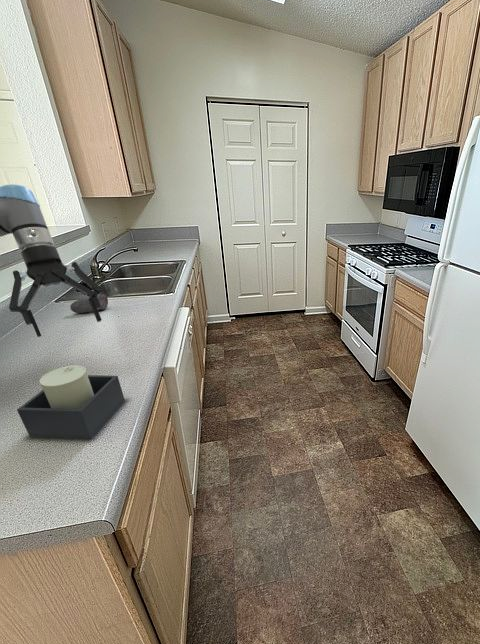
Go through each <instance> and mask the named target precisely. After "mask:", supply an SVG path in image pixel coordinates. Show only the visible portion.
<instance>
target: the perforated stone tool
mask: <svg viewBox="0 0 480 644" xmlns="http://www.w3.org/2000/svg"><path fill="white" fill-rule="evenodd" d="M97 298H98V300H99V303H100V305H101V306H100V309H98V311H104V310H106V308H108V305H109V299H108V295H107V294H105V293H103V294H100V295H98V296H97ZM88 299H89V296H87V297H82V298H80V299H77V300H75V301H73V302H71V304H70V310H71V312H73V313H75V314H85V313H89V314H90V313H94V312H93V310H92V307H91V305H90V302H89V300H88Z"/></svg>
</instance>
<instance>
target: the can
mask: <svg viewBox="0 0 480 644" xmlns="http://www.w3.org/2000/svg"><path fill="white" fill-rule="evenodd" d="M88 375H89V374H88V372H87V368H86V367H85V366H82V365H79V364H78V365H77V364H74V365H73V364H72V365H65V366H62V367H58V368H55V369H52V370H50V371H49V372H47V373H45V374H44V375H42V376H41V377H40V379H39V385H40V386H41V388H42V390H44V393H45V395H46V397H47V399H48V402H49V404H50V407H51V408H57V409H80V408H81V407H83V406H84V405H85V404H86V403H87V402H88V401H89V400H90V399H91V398H92V397H93V396H94V393H93V390H92V387H91V384H90V381H89V378H88Z"/></svg>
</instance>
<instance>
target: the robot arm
mask: <svg viewBox="0 0 480 644" xmlns="http://www.w3.org/2000/svg"><path fill="white" fill-rule="evenodd" d="M40 207H41V206H40V204H39V203H38V200H37V198H36V195H34V192H33V191H32V190H31V189H30V188H28V187H26V186H24V185H20V184H4V185H1V186H0V238H1V237H4V236H7V235H10V234H12V235H13V236H12V237H13V239H14V241H15V244H16V246H17V248H18V250H19V251H20V255H21V257H22V260H23V262H24V264H25V267H26V271H19V270H17V269H15V270H13V271H12V275H13V279H14V281H13V286H12V291H11V295H10V301H9V307H8V310H9V311H10V313H11V312H12V313H19V314H21V315H22V318H23V320H24V322H25V324H26V326H30V325H32V327H33V329H34V332H35V334H36V336H37V338H40V337H42V334H41V331H40V329H39V327H38V324H37V322H36V319H35V317H34V314H33V311H32V310H31V309H29V307H30V306H31V304H32V302H33V300H34V298H35V297H36V295H37V293H38V292H39V290H40V288H41V286H44V287H49V286H52V285H60V284H61V283H63V284H65V285H67V286H70V287H72V288H73V289H75V290H77V291H79V292H80V293H82V294H84V295H86V296H87V297H89V299H88V300H89V302H90V305H91V307H92V310H93V312H92V313H93V315H94V317H95V320H96V322H97V323H99V322H102V320H103V319H102V317H101V315H100V312H99V310H98V309H100V306H101V305H100V303H99V300H98V298H97V296H98V295H102V293H103V288H101V287H100V286H99V285H98V284H97V283H96V282H95V281H94V280H93V279H91V278H90V276H88V275H87V274H86V273H85V272H84V271H83V270H82V269H81V267H80V266H79V264H78V263H77V262H76V261H73V262H72V263H70V264H66V265H65V264H64V263H63V261H62V259H61V257H60V254H59V251H58V249H57V247H55V246H56V245H55V241H54V240H53V237H52V235H51V232H50V230H49V228H48V226H47V223H46V220H45V218H44V215H43V212H42V210H41V208H40ZM67 271H70V273H73V274H75V275H76V276H77V277H78V278H79V279H80V280H81V281H82V282H84V283H85V284H86V285H87V286H88V287H89V288H88V287H87V286H85V285H83V284H81V283H79V282H78V281H77V280H75V279H73V278H72V277H71V276H69V275H67ZM27 277H28V278H29V279H31V280H33V282H32V285H31V286H30V288H29V290H28V292H27V293H26V295H25V297H24V298H23V301H22V303H21V304H20V305H18V304H19V300H20V295H21V290H22V284H23V283H22V282H23V281H25V280H26V278H27ZM100 310H101V309H100Z"/></svg>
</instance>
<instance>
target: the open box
mask: <svg viewBox="0 0 480 644" xmlns="http://www.w3.org/2000/svg"><path fill="white" fill-rule="evenodd" d="M87 375H88V378H89V381H90V384H91V387H92V390H93V393H94V396H93V397H92V398H91V399H90V400H89V401H88V402H87V403H86V404H85V405H84V406H83V407H81V408H80V409H57V408H51V407H50V404H49V402H48V399H47V397H46V395H45V393H44V390H43V389H42V390H41V391H39V392H38V393H37V394H35V395H34V396H33V397H31V398H30V399H29V400H28V401H26V402H25V403H23V404H22V405H21V406H20V407H18V408H17V409H16V412H17V413H18V415H19V418H20V419H21V421H22V422H21V423H22V424H23V426H24V428H25V430H26V432H27V434H28V436H29V438H30V439H57V440H58V439H59V440H60V439H61V440H63V439H65V440H67V439H68V440H93V439H94V438H95V436H96V435H97V434H98V433H99V432H100V430H102V428H103V427H104V426H105V425H106V424H107V423H108V422H109V421H110V419H111V418H112V417H113V416H114V415H115V414H116V412H117V411H118V410H119V409H120V408H121V407H122V405H123V404H124V403H125V402H126V399H125V395H124V393H123V389H122V386H121V383H120V379H119V376H118V375H106V374H105V375H104V374H103V375H102V374H100V375H99V374H87Z"/></svg>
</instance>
